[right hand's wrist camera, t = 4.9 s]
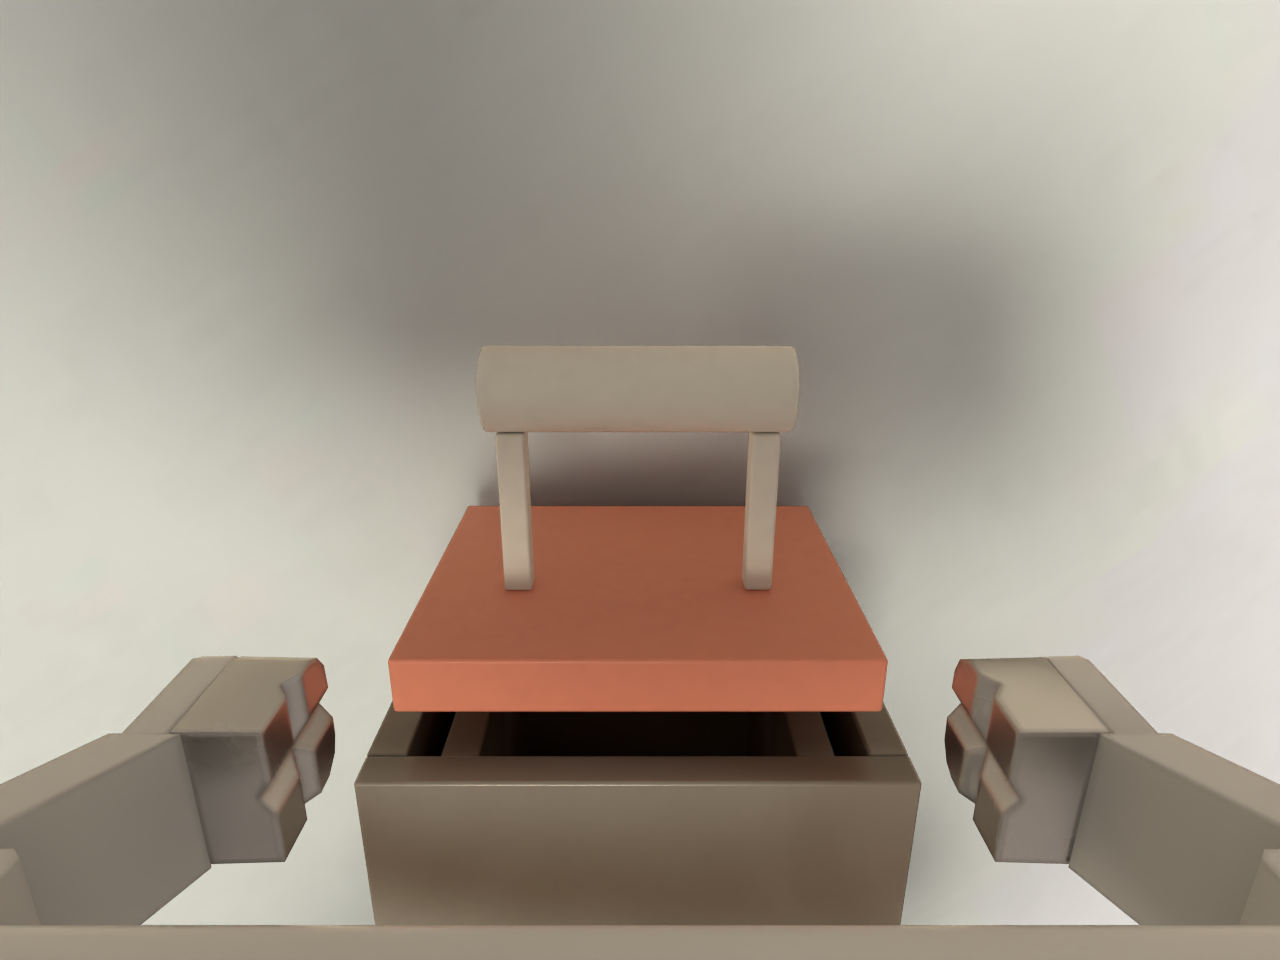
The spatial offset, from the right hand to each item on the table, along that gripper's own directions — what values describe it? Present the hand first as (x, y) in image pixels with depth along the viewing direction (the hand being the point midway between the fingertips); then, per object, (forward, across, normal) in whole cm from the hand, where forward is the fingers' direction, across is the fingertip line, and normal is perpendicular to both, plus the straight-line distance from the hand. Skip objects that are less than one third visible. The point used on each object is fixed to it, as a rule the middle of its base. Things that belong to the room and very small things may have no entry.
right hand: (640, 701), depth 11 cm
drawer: (+12, 0, -7) cm, 14 cm away
